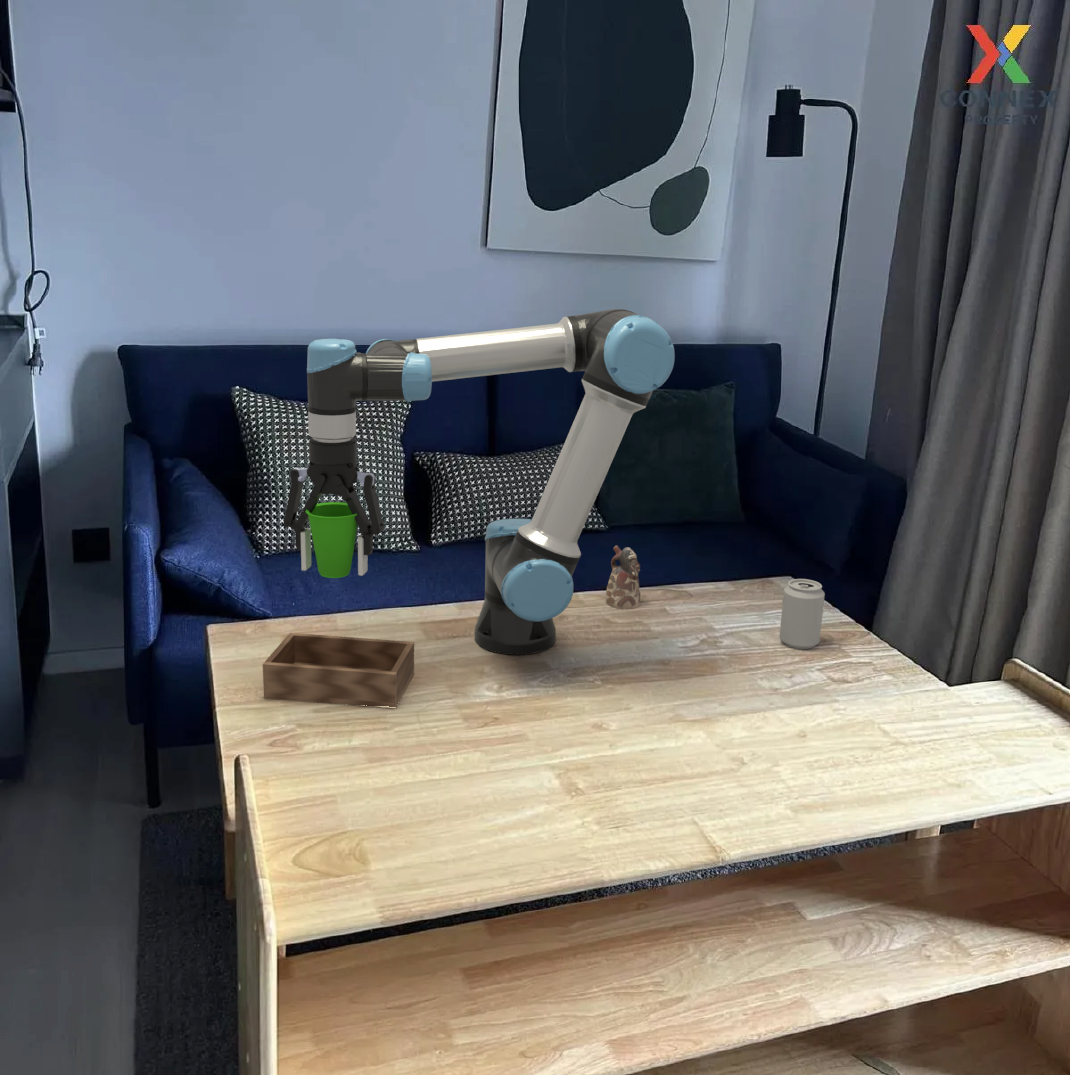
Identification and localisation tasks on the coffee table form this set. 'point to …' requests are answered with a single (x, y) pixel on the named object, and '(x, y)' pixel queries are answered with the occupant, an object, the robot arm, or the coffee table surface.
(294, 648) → the tray
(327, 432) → the robot arm
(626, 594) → the figurine
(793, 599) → the can
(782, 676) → the coffee table surface
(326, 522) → the cup
